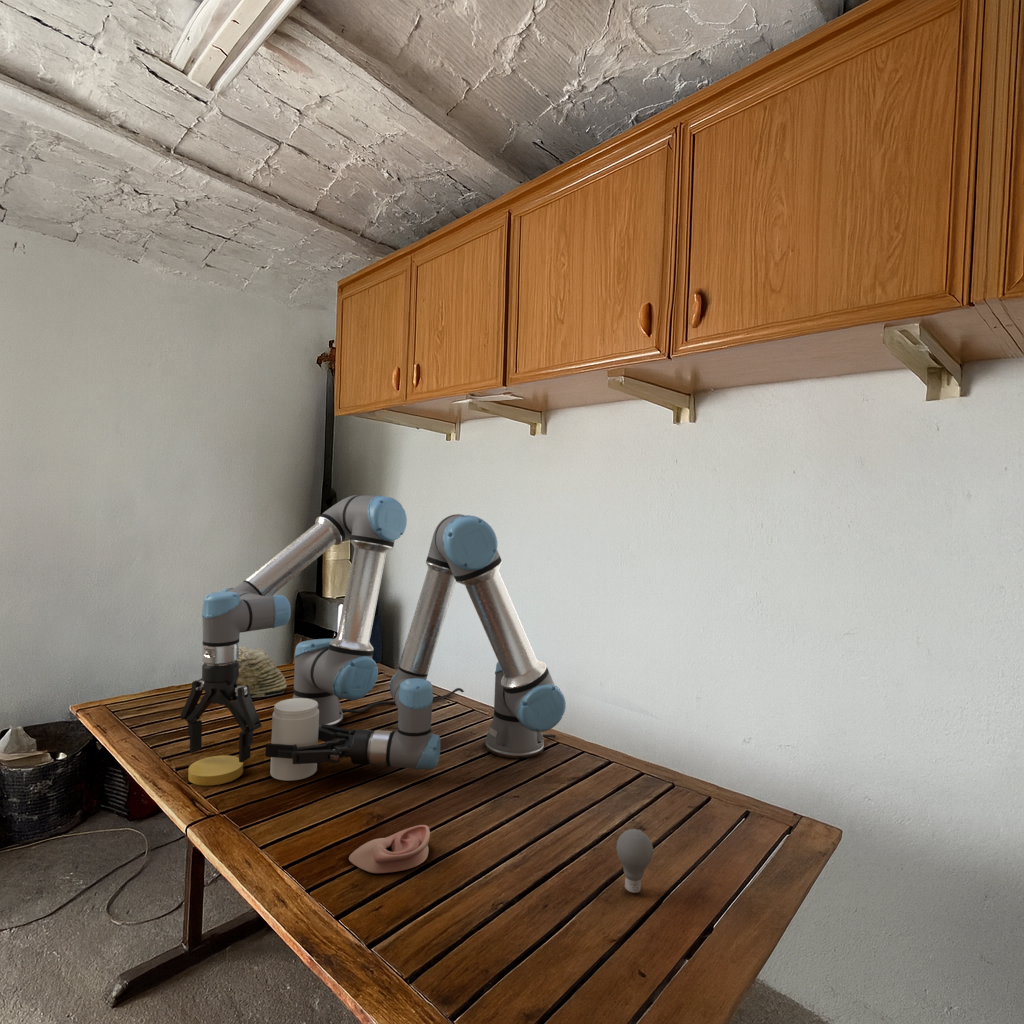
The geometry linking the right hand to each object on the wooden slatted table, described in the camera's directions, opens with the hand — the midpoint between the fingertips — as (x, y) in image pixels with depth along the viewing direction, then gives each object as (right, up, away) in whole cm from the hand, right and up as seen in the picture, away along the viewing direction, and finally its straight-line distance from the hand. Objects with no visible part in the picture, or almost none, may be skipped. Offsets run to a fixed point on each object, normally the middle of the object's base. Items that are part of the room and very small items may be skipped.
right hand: (277, 740), depth 146 cm
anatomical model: (+32, -9, -33) cm, 47 cm away
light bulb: (+74, -11, -40) cm, 85 cm away
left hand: (-12, -2, -3) cm, 12 cm away
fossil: (-26, -5, +52) cm, 59 cm away
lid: (-12, -4, -4) cm, 14 cm away
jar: (+4, -7, 0) cm, 8 cm away
